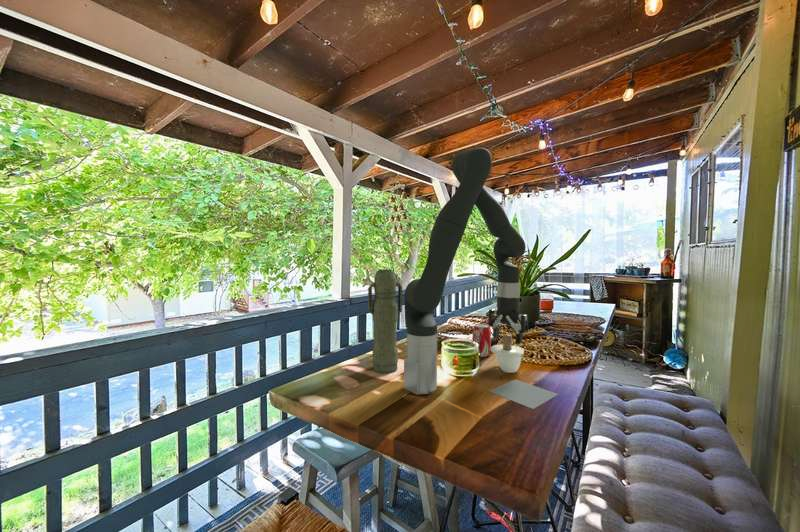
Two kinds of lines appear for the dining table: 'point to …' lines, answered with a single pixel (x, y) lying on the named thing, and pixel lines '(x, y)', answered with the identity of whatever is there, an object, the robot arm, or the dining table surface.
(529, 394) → the mat
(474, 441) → the dining table surface
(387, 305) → the thermos
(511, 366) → the cup
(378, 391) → the dining table surface
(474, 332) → the soda can
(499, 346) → the lid
